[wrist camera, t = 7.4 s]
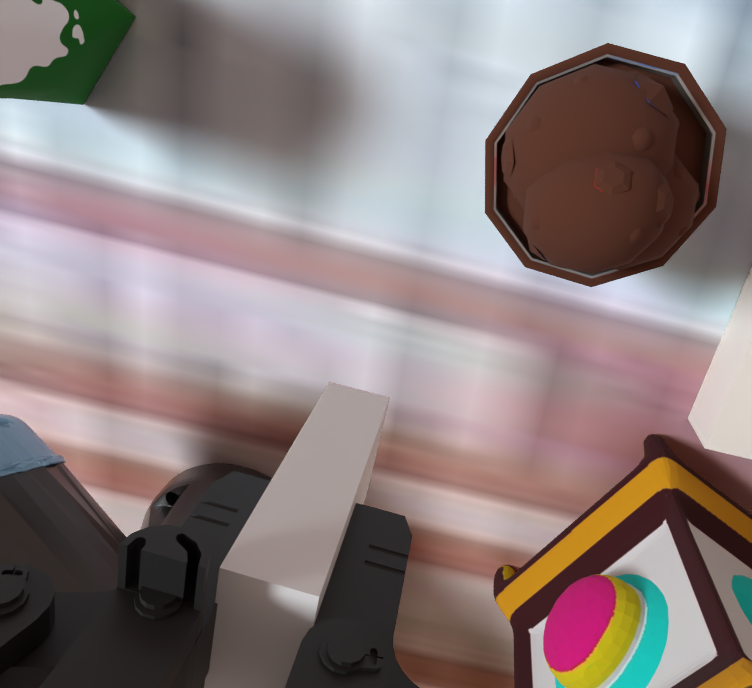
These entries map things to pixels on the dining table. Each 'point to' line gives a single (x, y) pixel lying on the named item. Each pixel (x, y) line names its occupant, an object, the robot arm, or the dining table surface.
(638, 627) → the decorative lantern
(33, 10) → the milk carton
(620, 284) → the dining table surface
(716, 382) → the console
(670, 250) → the ice cream bowl
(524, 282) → the dining table surface
